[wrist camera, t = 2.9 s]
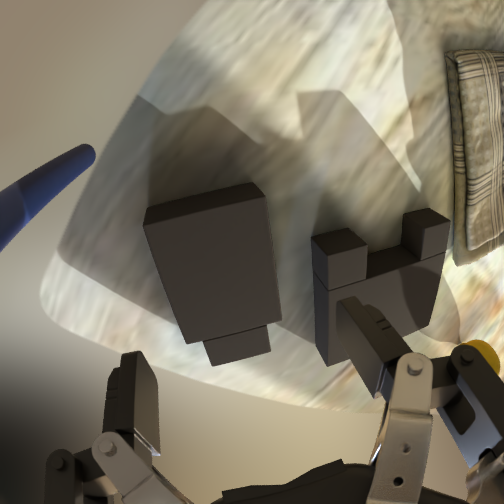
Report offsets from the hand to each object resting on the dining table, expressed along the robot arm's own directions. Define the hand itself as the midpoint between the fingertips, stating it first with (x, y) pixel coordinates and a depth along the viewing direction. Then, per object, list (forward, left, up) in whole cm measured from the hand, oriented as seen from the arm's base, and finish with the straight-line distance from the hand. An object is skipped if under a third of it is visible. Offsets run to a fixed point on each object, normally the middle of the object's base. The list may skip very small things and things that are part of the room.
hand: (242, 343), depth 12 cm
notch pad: (+11, -5, -8) cm, 14 cm away
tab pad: (0, -1, -7) cm, 8 cm away
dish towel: (+27, +4, -8) cm, 28 cm away
